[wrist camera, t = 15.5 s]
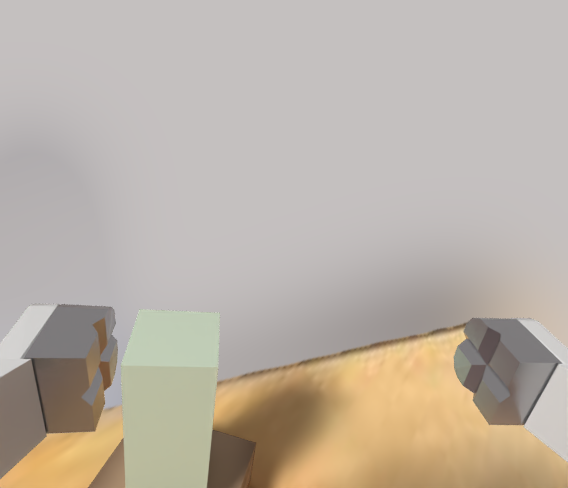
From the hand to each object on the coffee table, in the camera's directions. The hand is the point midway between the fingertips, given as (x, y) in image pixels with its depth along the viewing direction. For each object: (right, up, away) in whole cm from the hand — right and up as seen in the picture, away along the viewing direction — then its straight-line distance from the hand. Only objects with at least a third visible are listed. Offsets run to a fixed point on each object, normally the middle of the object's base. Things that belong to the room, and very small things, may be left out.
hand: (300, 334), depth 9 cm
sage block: (-8, -15, +20) cm, 26 cm away
